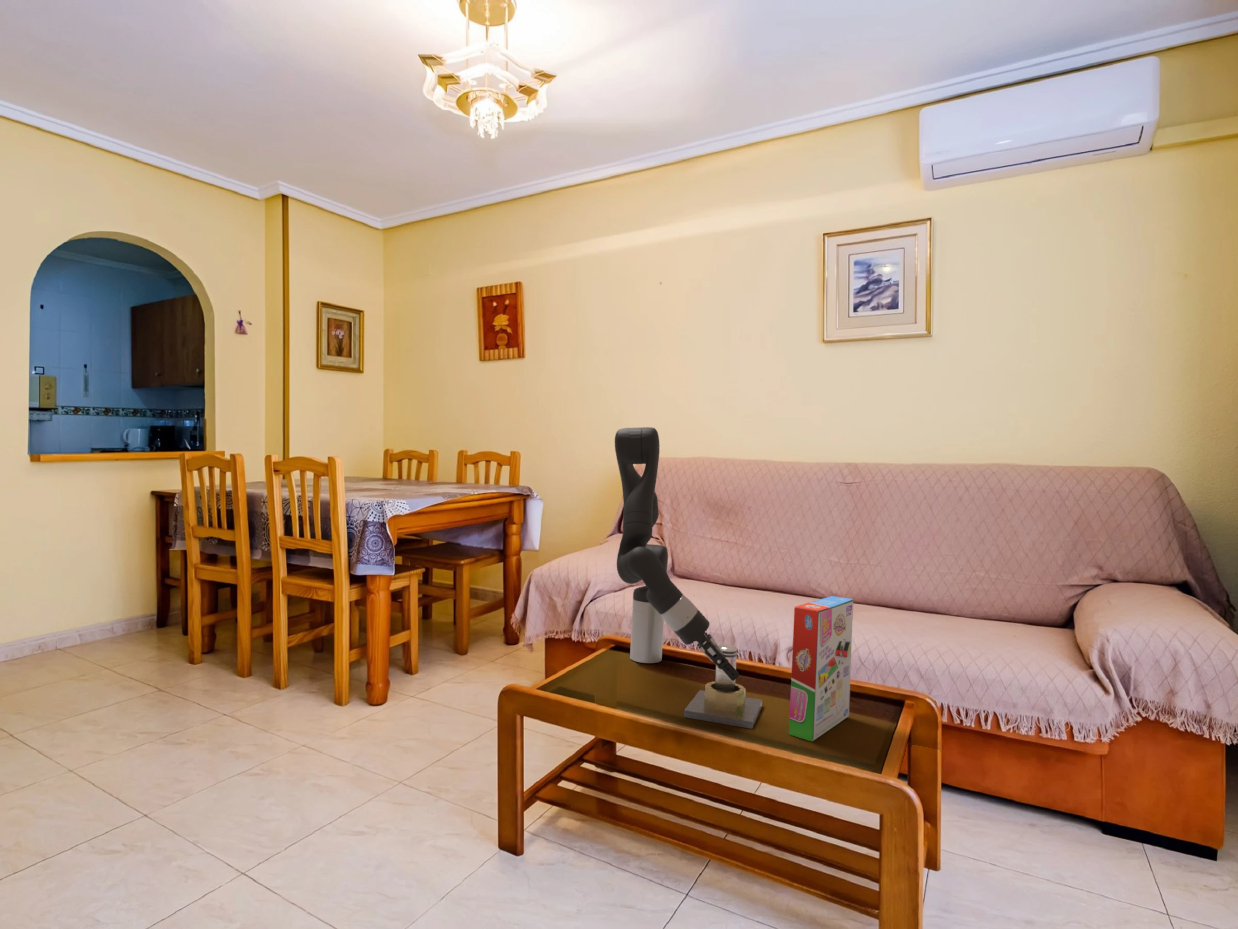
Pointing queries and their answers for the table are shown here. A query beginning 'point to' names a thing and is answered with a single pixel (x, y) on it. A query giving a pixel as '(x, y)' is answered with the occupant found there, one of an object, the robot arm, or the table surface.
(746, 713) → the tan pot on tray
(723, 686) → the piston
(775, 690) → the table surface
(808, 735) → the game box
